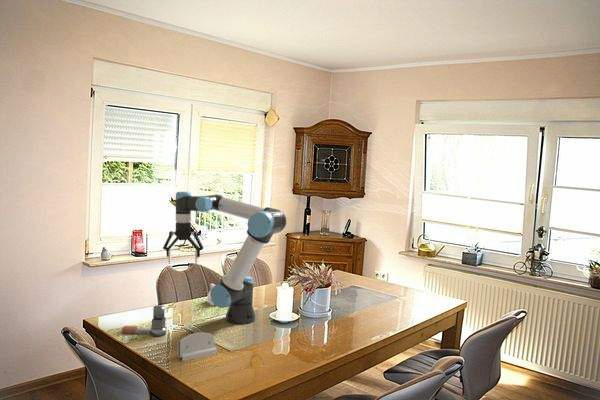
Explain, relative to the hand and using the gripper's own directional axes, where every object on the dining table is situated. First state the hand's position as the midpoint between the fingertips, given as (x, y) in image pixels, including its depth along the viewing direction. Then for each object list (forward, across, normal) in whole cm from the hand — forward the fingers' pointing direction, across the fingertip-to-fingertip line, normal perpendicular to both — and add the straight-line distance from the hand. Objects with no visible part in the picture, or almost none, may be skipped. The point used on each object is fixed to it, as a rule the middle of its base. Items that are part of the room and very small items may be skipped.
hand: (183, 263), depth 269 cm
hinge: (+30, -16, +47) cm, 58 cm away
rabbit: (+28, -13, -25) cm, 39 cm away
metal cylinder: (+25, +6, +26) cm, 37 cm away
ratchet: (+28, +13, +26) cm, 40 cm away
